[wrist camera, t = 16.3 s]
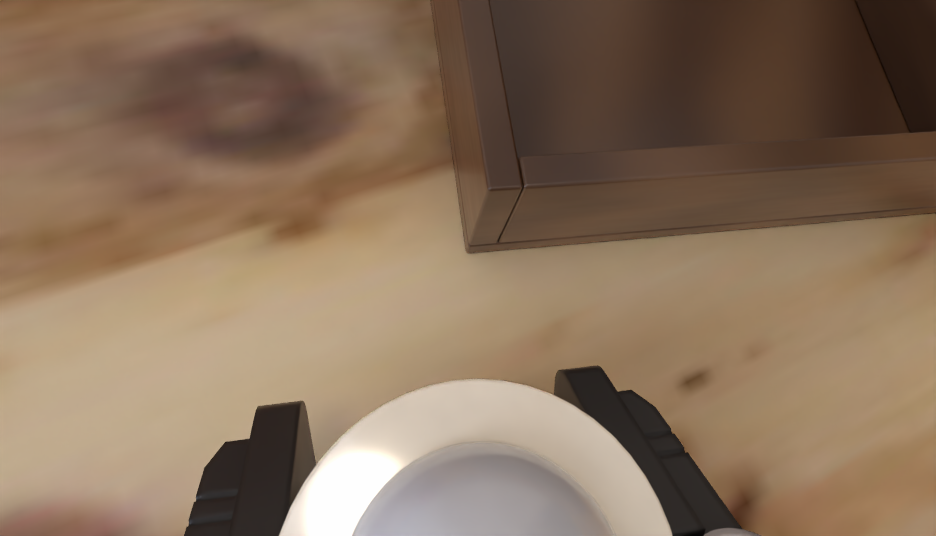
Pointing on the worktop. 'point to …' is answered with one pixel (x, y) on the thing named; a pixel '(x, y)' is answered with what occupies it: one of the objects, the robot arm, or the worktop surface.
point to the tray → (684, 115)
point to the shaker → (476, 470)
